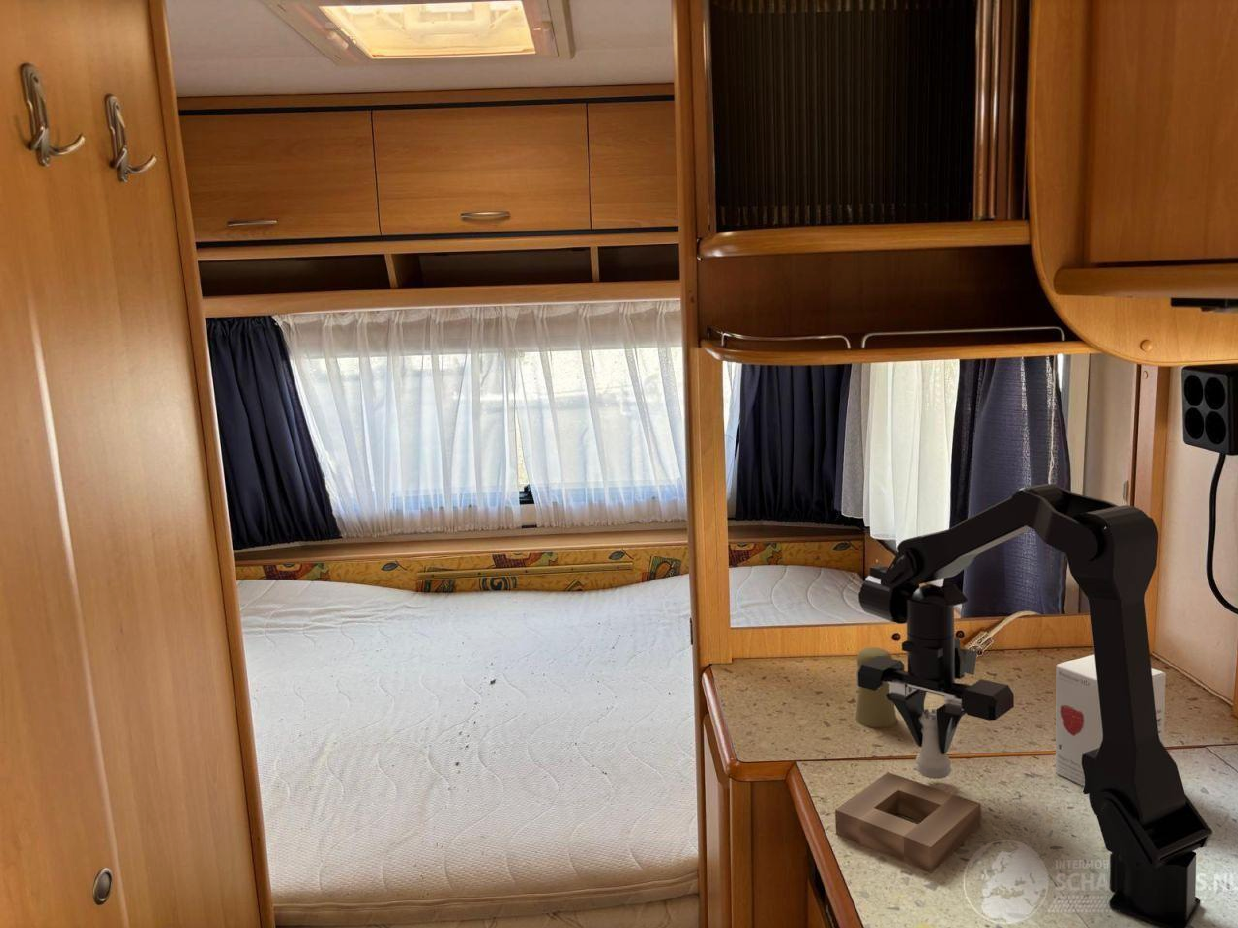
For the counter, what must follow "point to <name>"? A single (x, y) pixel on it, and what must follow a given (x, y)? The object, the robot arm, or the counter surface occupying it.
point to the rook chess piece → (931, 749)
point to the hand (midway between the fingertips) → (932, 749)
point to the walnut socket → (912, 843)
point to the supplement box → (1087, 714)
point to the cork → (874, 696)
